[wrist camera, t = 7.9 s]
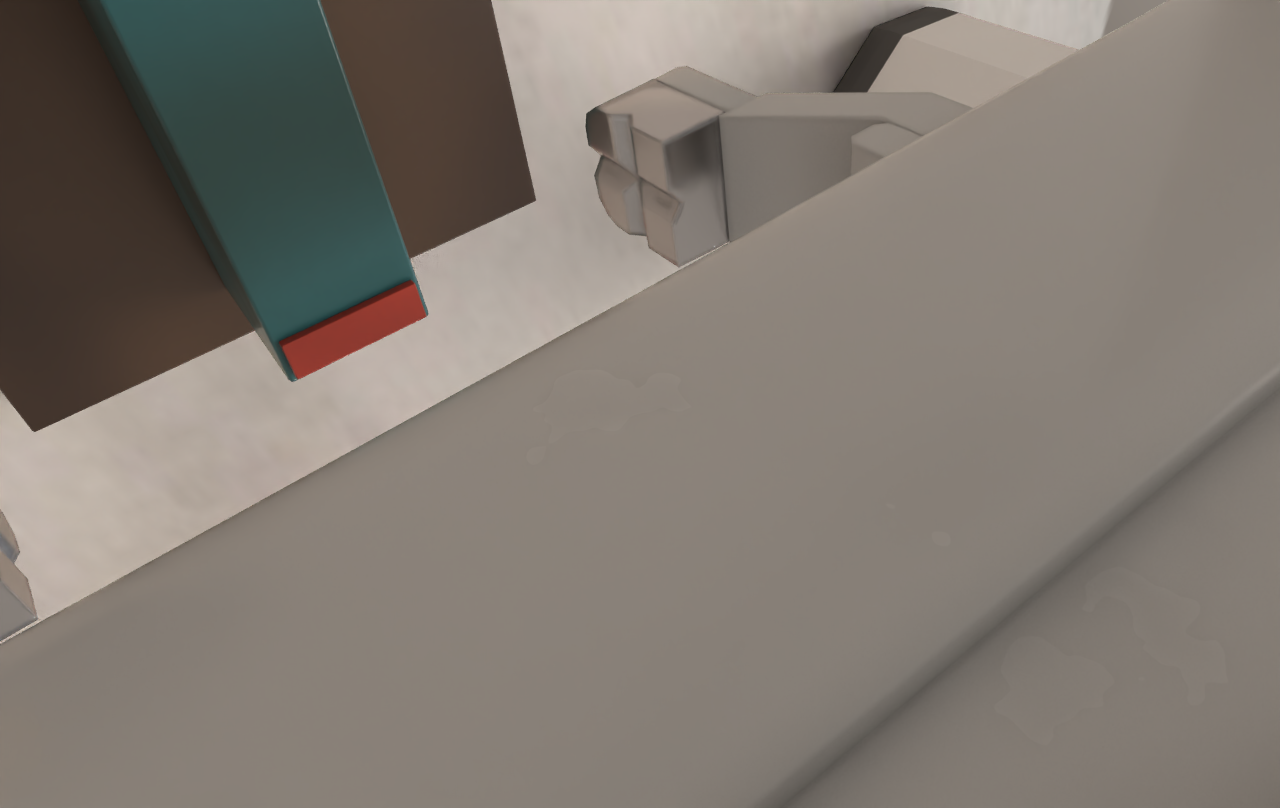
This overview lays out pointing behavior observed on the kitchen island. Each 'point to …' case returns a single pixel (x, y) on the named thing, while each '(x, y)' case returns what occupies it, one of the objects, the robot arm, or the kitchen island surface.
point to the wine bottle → (948, 57)
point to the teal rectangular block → (268, 166)
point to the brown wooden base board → (154, 215)
